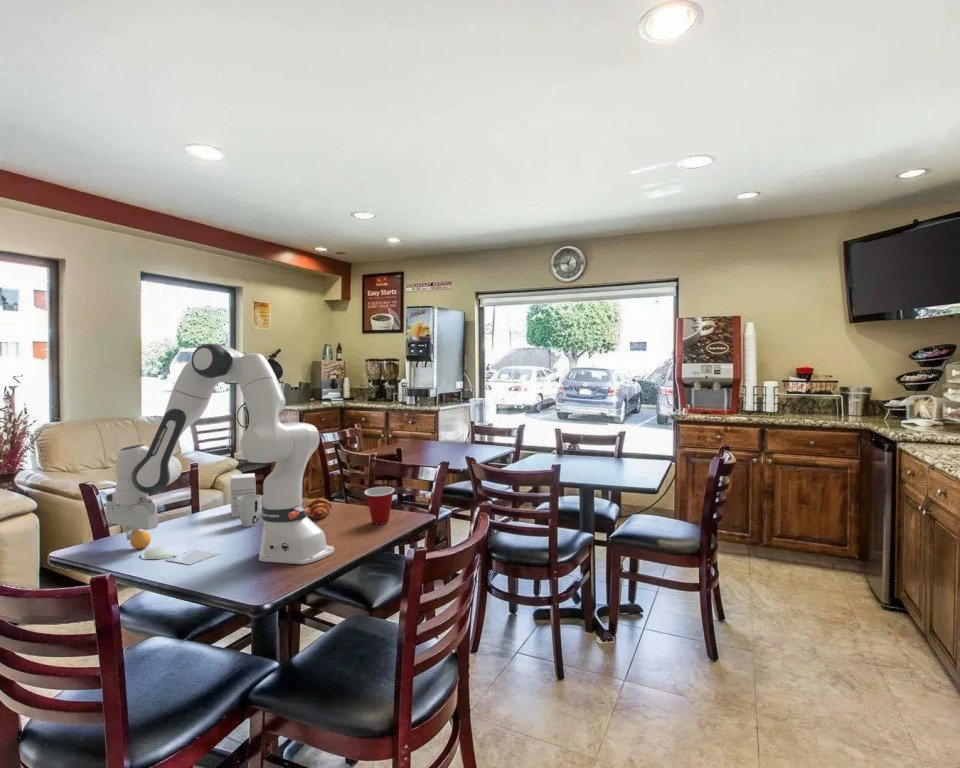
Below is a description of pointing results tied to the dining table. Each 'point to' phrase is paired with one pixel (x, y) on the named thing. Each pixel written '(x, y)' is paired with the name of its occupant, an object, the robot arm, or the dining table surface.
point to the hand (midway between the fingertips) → (131, 539)
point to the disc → (158, 553)
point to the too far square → (194, 557)
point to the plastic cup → (379, 503)
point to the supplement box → (241, 489)
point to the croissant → (318, 508)
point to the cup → (249, 509)
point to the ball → (140, 539)
